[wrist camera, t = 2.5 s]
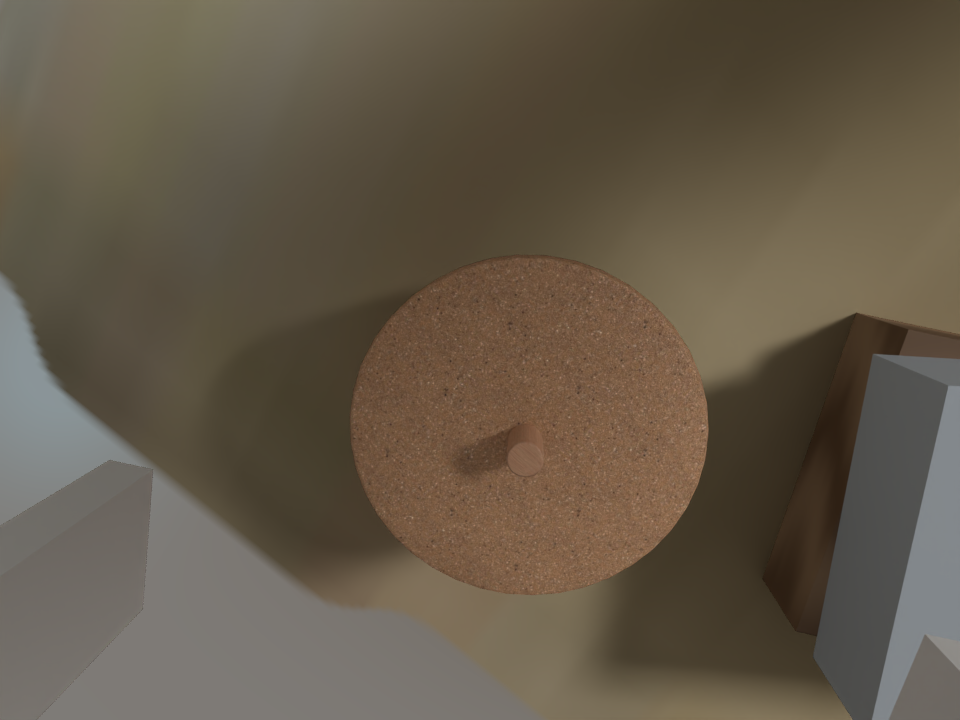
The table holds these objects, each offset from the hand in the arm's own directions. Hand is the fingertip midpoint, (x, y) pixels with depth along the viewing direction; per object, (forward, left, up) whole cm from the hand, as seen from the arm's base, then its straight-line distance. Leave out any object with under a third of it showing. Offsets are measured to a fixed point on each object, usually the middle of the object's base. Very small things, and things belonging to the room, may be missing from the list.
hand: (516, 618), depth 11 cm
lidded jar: (0, 0, -16) cm, 16 cm away
